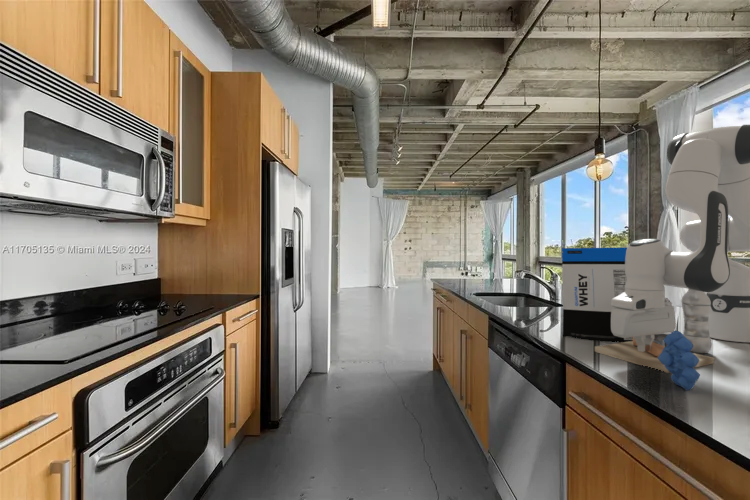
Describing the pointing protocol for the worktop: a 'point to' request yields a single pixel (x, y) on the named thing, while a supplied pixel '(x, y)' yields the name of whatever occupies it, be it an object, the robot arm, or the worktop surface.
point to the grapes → (680, 360)
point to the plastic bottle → (696, 320)
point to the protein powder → (591, 291)
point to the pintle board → (643, 354)
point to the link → (653, 348)
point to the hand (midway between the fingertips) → (644, 350)
